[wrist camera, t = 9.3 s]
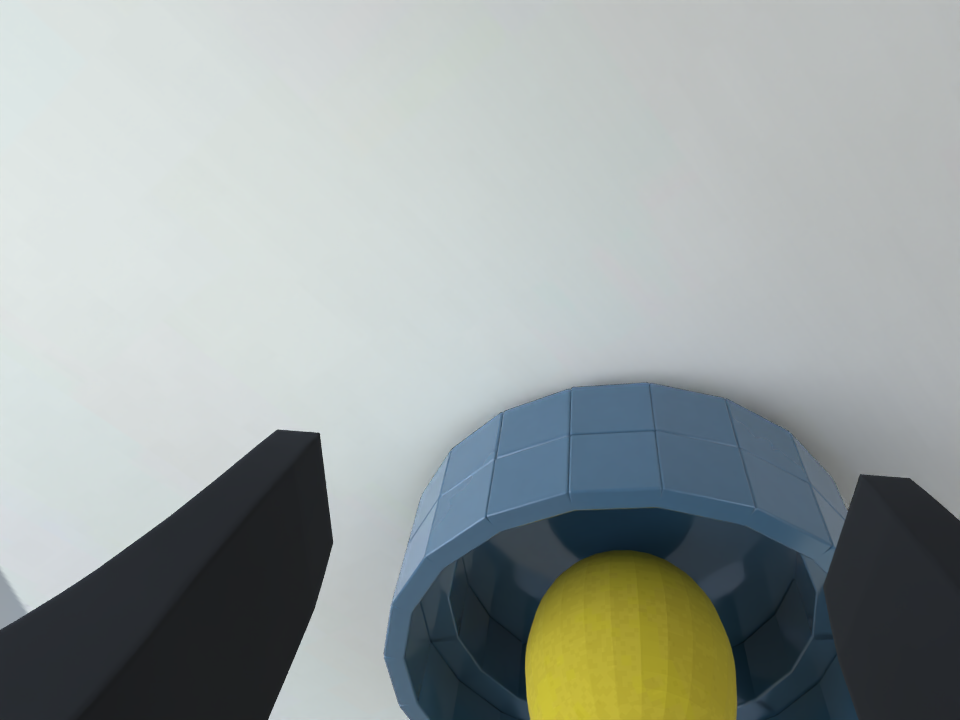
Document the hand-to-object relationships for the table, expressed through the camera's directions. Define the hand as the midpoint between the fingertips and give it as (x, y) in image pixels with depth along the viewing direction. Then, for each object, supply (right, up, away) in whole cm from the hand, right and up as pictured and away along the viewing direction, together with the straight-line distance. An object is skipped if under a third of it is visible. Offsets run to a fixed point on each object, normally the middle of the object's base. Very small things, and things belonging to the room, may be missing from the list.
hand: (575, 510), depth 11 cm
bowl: (+3, -4, +14) cm, 15 cm away
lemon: (+3, -4, +14) cm, 15 cm away
